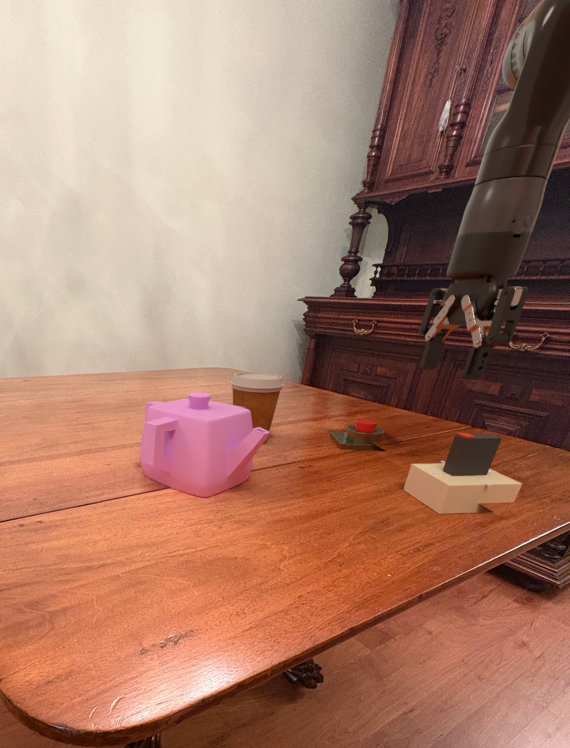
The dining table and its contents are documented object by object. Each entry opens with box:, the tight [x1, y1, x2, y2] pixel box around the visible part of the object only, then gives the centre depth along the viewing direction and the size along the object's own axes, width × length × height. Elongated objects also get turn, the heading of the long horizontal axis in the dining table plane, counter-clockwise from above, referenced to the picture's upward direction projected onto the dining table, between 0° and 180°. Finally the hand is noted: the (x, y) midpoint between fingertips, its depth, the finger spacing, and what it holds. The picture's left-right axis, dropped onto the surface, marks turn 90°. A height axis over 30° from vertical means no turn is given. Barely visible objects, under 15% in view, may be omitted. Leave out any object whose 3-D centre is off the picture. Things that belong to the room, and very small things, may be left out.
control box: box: [403, 460, 523, 515], centre depth 58 cm, size 10×9×4 cm
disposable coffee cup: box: [230, 371, 285, 446], centre depth 79 cm, size 10×10×12 cm
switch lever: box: [443, 432, 503, 476], centre depth 56 cm, size 5×2×5 cm, turn 96°
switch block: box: [329, 424, 387, 452], centre depth 81 cm, size 10×8×3 cm
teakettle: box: [139, 391, 271, 498], centre depth 62 cm, size 17×17×12 cm
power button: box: [354, 418, 378, 432], centre depth 80 cm, size 4×4×2 cm
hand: (447, 373), depth 59 cm, fingers open, 8 cm apart
